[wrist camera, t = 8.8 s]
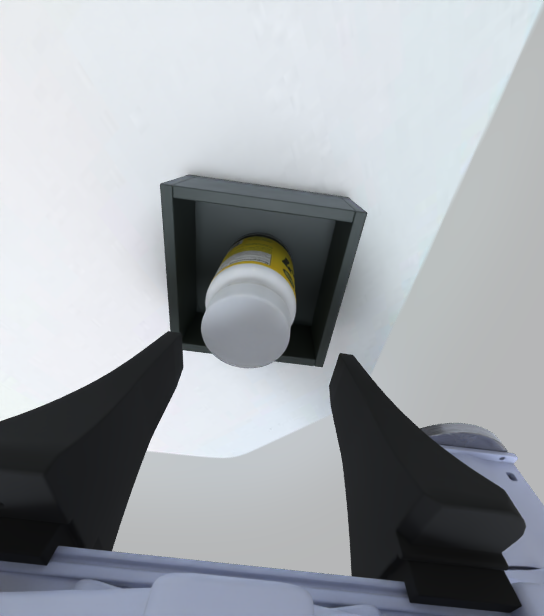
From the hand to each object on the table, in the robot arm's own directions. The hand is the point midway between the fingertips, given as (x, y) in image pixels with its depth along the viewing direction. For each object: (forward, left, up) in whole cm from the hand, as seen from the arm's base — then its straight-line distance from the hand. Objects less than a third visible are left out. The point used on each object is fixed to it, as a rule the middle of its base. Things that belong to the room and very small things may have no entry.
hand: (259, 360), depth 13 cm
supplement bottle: (+1, -1, -9) cm, 9 cm away
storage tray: (+1, -1, -9) cm, 9 cm away
